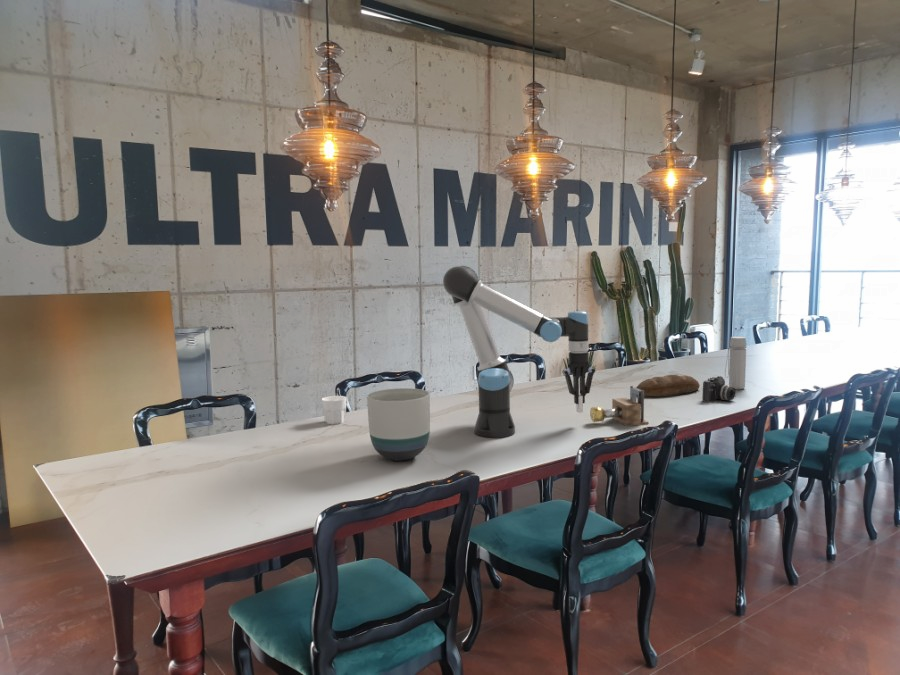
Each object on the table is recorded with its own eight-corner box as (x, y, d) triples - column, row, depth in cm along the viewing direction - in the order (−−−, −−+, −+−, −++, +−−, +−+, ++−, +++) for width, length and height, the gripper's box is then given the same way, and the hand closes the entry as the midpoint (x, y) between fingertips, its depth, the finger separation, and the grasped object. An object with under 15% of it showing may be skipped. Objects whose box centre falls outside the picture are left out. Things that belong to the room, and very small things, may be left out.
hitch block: (626, 425, 233) (626, 392, 232) (612, 418, 245) (612, 386, 243) (648, 423, 235) (648, 391, 233) (633, 416, 247) (633, 385, 245)
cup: (318, 424, 248) (317, 400, 247) (331, 418, 257) (329, 395, 256) (339, 425, 244) (338, 401, 243) (351, 419, 254) (350, 396, 252)
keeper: (638, 407, 236) (638, 391, 236) (630, 403, 243) (630, 387, 242) (643, 406, 237) (643, 390, 236) (635, 403, 243) (635, 387, 243)
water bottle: (746, 387, 297) (747, 336, 294) (744, 390, 291) (745, 338, 288) (725, 385, 302) (727, 336, 299) (723, 388, 296) (724, 337, 293)
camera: (723, 404, 264) (724, 382, 262) (699, 400, 272) (700, 379, 271) (739, 399, 273) (739, 377, 271) (715, 395, 281) (716, 374, 280)
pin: (596, 423, 234) (596, 409, 234) (590, 419, 240) (590, 406, 239) (626, 421, 237) (626, 407, 236) (619, 417, 242) (619, 403, 241)
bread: (708, 391, 291) (708, 374, 290) (650, 400, 276) (650, 382, 275) (683, 386, 306) (683, 369, 305) (626, 394, 290) (626, 376, 289)
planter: (380, 471, 188) (377, 404, 185) (362, 453, 206) (359, 392, 204) (440, 461, 196) (439, 396, 193) (418, 445, 214) (416, 386, 212)
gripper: (566, 354, 228) (567, 415, 230) (598, 351, 230) (599, 412, 233) (558, 351, 235) (560, 411, 238) (590, 349, 237) (591, 408, 240)
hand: (579, 411), depth 235 cm, fingers closed
